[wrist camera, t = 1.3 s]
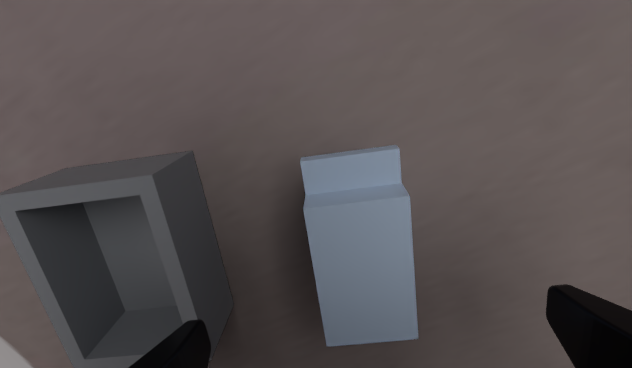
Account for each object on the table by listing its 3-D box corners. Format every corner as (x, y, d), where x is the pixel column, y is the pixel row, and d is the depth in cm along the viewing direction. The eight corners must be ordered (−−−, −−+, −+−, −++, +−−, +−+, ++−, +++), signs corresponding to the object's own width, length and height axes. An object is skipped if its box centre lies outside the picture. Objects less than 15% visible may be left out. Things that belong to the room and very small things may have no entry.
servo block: (395, 283, 15) (419, 364, 11) (330, 289, 16) (331, 371, 11) (382, 129, 13) (407, 157, 9) (307, 139, 13) (297, 172, 9)
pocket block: (233, 304, 16) (210, 361, 13) (123, 315, 16) (76, 372, 13) (192, 150, 14) (151, 175, 11) (65, 168, 14) (-10, 196, 11)
